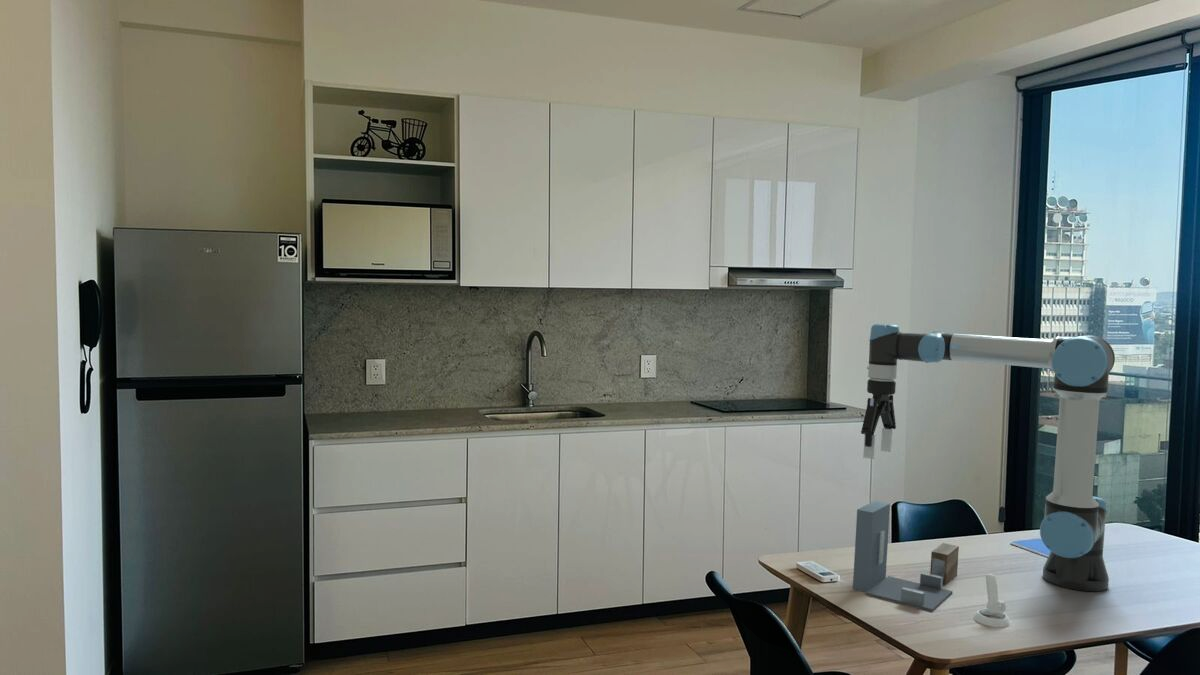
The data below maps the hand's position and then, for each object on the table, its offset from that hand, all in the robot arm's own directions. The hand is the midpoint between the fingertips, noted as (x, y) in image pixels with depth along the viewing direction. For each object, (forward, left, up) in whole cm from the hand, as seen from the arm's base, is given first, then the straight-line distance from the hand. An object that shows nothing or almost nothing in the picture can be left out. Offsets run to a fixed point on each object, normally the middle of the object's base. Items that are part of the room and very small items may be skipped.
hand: (877, 454), depth 247 cm
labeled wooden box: (-22, +9, -28) cm, 37 cm away
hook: (-39, +31, -28) cm, 57 cm away
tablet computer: (-39, -38, -29) cm, 62 cm away
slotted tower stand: (-17, +27, -28) cm, 42 cm away
